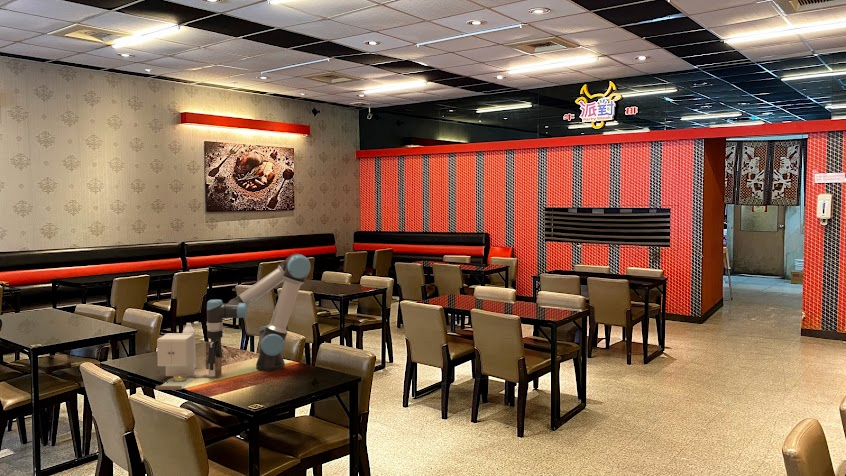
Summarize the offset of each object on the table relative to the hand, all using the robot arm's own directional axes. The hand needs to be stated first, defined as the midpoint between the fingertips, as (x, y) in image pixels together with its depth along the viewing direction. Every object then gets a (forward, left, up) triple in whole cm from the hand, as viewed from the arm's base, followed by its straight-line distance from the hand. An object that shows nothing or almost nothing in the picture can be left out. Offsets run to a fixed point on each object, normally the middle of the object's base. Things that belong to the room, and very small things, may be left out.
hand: (215, 373), depth 334 cm
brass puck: (+16, +6, -2) cm, 17 cm away
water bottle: (+18, -18, -2) cm, 26 cm away
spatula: (+8, 0, -2) cm, 8 cm away
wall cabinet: (+19, +3, -2) cm, 19 cm away
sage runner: (+16, +12, -2) cm, 20 cm away
